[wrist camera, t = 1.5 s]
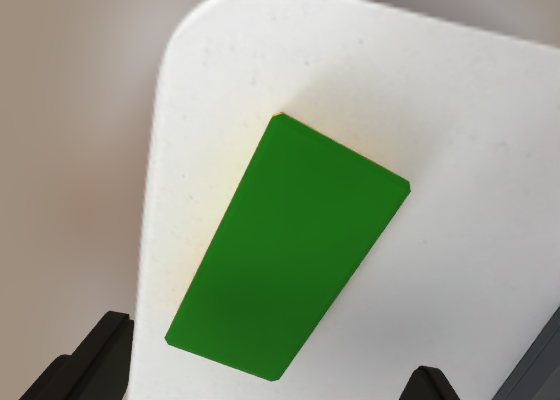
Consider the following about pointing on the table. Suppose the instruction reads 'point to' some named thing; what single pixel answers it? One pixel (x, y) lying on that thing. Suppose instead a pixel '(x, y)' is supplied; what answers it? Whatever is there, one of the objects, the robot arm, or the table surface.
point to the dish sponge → (284, 249)
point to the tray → (537, 368)
